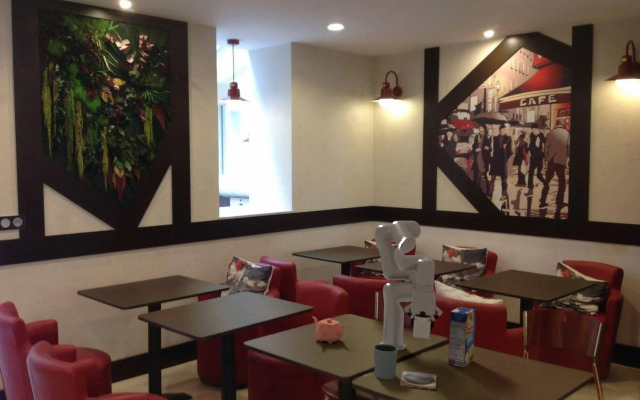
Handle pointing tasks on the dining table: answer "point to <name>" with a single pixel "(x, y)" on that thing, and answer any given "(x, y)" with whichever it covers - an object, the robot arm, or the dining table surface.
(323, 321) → the teapot
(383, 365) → the blue-grey cup
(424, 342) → the dining table surface
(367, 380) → the dining table surface
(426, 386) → the board
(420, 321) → the medicine bottle
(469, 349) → the juice carton
